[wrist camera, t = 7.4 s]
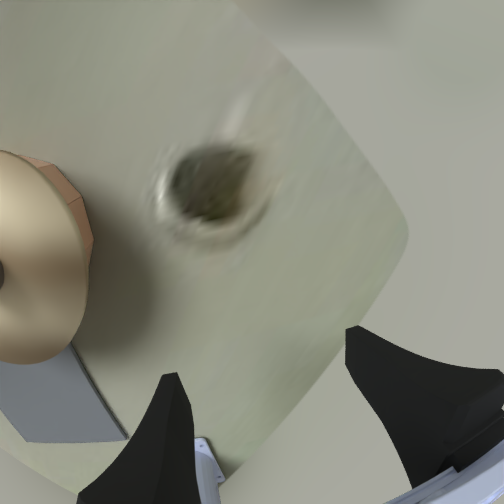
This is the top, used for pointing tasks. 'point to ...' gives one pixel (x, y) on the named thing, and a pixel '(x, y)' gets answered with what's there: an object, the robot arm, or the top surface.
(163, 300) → the top surface
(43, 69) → the top surface
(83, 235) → the terracotta bowl
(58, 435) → the rubber mat
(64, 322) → the oak lid
